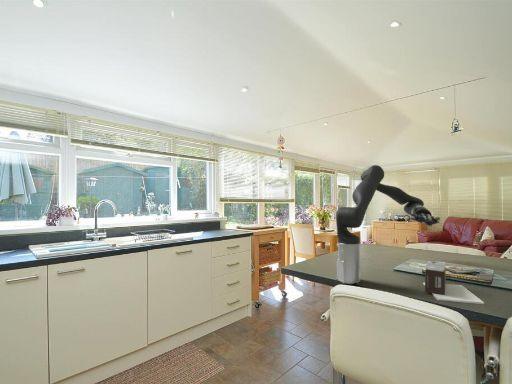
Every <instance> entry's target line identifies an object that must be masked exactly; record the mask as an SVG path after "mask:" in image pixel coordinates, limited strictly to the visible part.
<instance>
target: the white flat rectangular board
mask: <svg viewBox="0 0 512 384" xmlns="http://www.w3.org/2000/svg"><path fill="white" fill-rule="evenodd" d="M422 285H424V286H425V281H424V282H423V283H422ZM431 295H433V297H434V298H435V299H436V300H437V301H444V302H455V303H457V302H458V303H465V304H466V303H467V304H477V305H485V302H484V301H483V300H481V299H480V298H479V297H478V296H476V295H475V294H474V293H472V292H471V291H470V290H468V288H466V287H464V285H462V284H461V285H460V284H450V283H449V284H448V283H445V295H442V294H434V293H431Z"/></svg>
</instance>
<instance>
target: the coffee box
mask: <svg viewBox="0 0 512 384" xmlns="http://www.w3.org/2000/svg"><path fill="white" fill-rule="evenodd" d="M424 278H425V279H424V283H425V285H424V291H425V293H428V294H429V293H430V294H432V293H434V294H442V295H445V284H446V282H447V281H446V279H447V278H446V262H444V261H435V260H428V261H427V263H426V266H425V270H424Z"/></svg>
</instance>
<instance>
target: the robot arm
mask: <svg viewBox="0 0 512 384" xmlns="http://www.w3.org/2000/svg"><path fill="white" fill-rule="evenodd" d="M384 177H385V172H384V169H383V167H381V166H380V165H378V164H375V165H371V166H369V167H368V168H367V169H366V170H364V171H363V172H362V173H360V180H361V182H360V183H359V184H357V185H356V187H355V188H354V190H353V193H352V196H351V197H352V201H353V202H354V204H355V206H353V207H352V206H340V207H338V208H337V210H336V212H335V213H336V214H335V220H336V222H335V223H336V236H337V244H338V245H337V246H338V247H337V249H338V251H337V254H338V255H337V256H338V258H336V280H337V279H338V281H339V282H341V283H342V284H348V285H353V284H354V283H357V284H360V283H361V253H360V252H361V249H360V248H361V247H360V246H361V245H360V244H361V243H360V240H361V239H360V236H359V235H356V234H354V233H352V232H351V231H350V230H349V229H348V228H350V229H351V228H352V229H356V228H357V229H358V228H360V227H361V225H363V222H364V219H365V216H366V213H367V210H368V208H369V205H370V203H371V201H372V199H373V197H374V196H375V192H376V191H377V192H379V193H381V194H384V195H385V196H387V197H389V198H391V199H392V200H393V201H394V202H396V203H398V204H399V205H401V206H403V205H404V206H403V211H404V212H405V213H406V214H407V215H410V220H413V221H415V222H417V223H420V224H425V225H427V226H430V227H431V226H433V225H436V224H440V220H441V217H435V216H434V215H432V212H431V211H430V210H429V209H428V208H427V207H425V203H424V201H423V199H421V198H419V197H415V196H413V195H410V194H408V193H407V192H405V191H404V190H403V189H401V188H399V187H397V186H394V185H388V184H384V183H381V182H382V181H383V179H384ZM359 282H360V283H359Z"/></svg>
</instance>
